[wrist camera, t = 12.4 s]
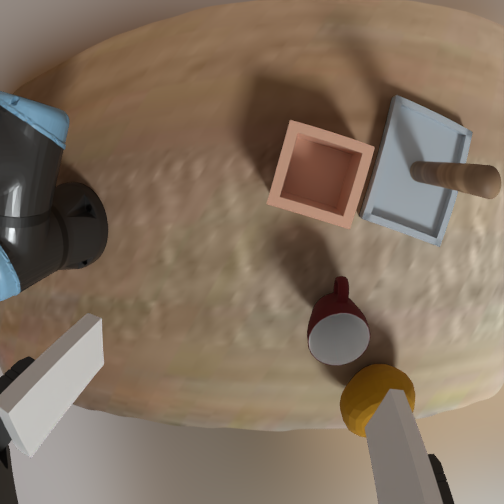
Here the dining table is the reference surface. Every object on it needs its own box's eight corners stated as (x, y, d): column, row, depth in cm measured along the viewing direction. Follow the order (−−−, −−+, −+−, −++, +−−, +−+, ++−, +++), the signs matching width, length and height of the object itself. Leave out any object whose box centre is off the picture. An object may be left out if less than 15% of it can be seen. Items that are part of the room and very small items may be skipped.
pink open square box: (271, 196, 43) (266, 204, 35) (291, 127, 40) (290, 119, 32) (340, 217, 42) (349, 229, 35) (360, 149, 39) (374, 147, 32)
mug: (305, 266, 45) (306, 294, 35) (359, 264, 44) (374, 291, 34) (306, 329, 48) (307, 367, 38) (356, 326, 47) (367, 363, 37)
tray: (433, 242, 41) (439, 246, 39) (358, 215, 42) (362, 218, 40) (465, 132, 36) (472, 132, 33) (391, 97, 36) (396, 94, 34)
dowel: (407, 177, 38) (473, 191, 21) (413, 158, 37) (482, 159, 20) (425, 185, 38) (496, 203, 21) (430, 165, 37) (504, 173, 20)
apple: (361, 413, 52) (368, 457, 41) (322, 379, 50) (324, 425, 39) (416, 377, 48) (434, 418, 37) (382, 336, 47) (399, 379, 36)
